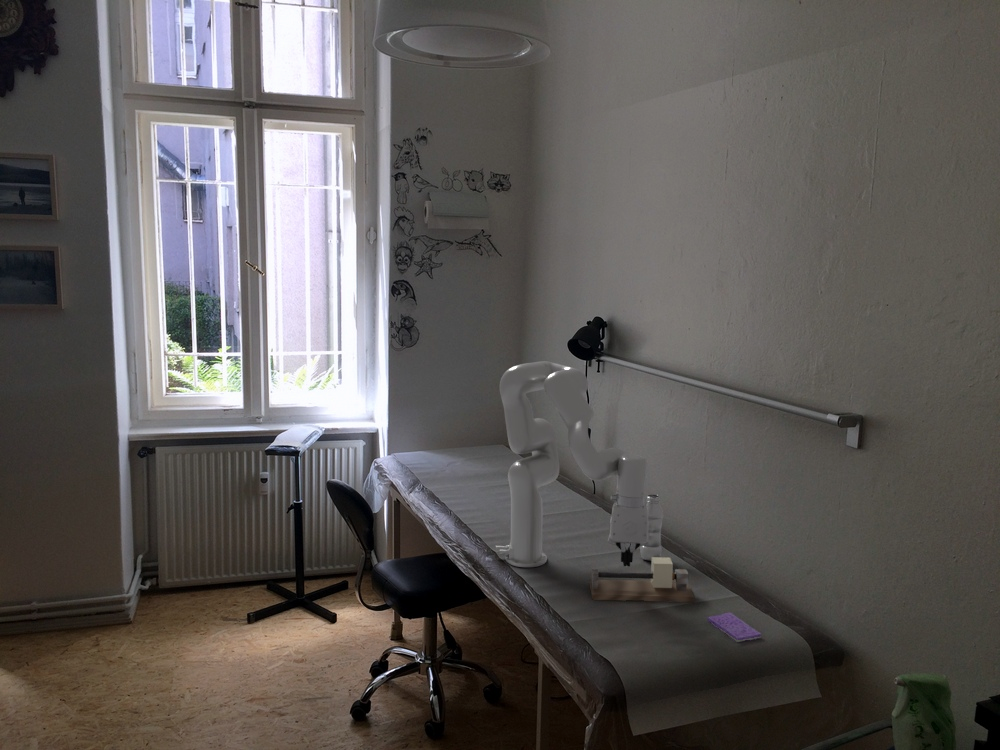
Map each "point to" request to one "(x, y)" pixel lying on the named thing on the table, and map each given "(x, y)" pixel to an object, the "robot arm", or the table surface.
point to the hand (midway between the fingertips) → (626, 564)
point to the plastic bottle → (653, 529)
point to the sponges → (734, 626)
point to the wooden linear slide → (639, 587)
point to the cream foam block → (661, 572)
